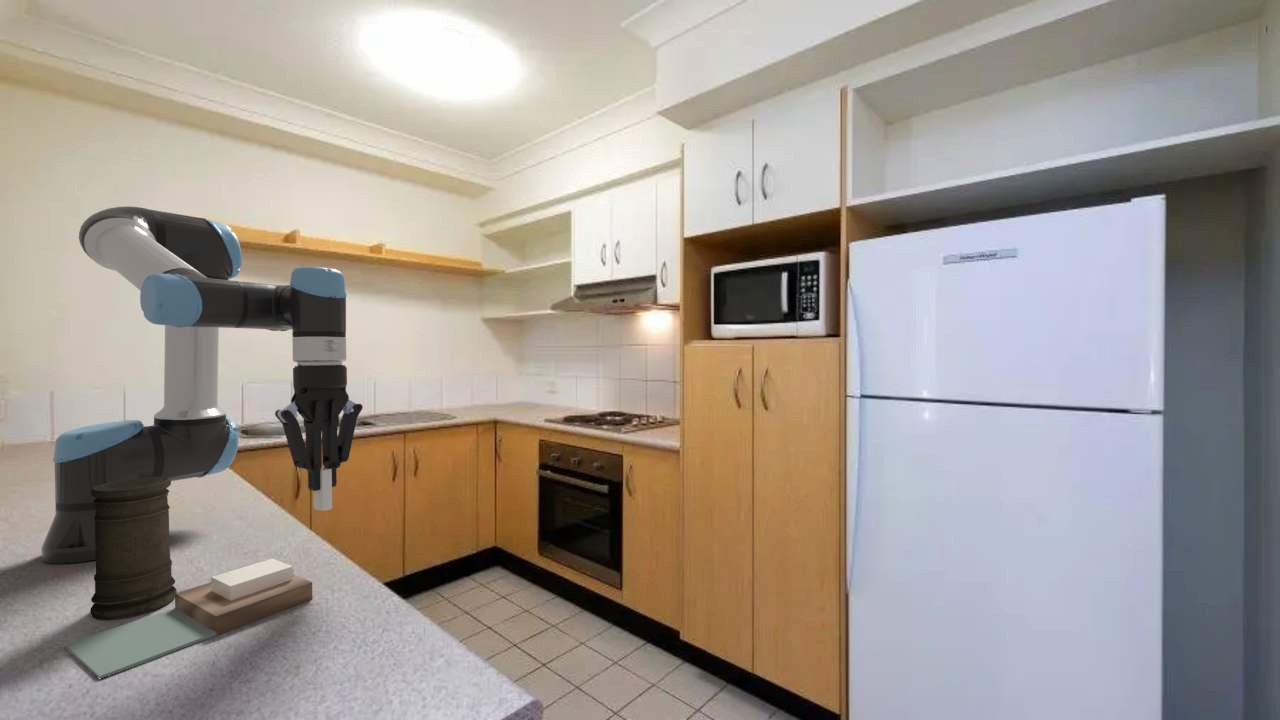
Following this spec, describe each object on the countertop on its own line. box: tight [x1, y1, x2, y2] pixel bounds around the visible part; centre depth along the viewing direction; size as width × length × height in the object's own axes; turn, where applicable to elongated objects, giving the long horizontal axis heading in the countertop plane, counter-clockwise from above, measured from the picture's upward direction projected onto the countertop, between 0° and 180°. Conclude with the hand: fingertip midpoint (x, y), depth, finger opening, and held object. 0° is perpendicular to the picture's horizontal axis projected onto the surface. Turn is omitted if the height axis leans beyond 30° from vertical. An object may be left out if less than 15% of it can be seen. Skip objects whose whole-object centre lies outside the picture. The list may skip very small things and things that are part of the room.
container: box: [89, 477, 178, 621], centre depth 78 cm, size 9×9×18 cm
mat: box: [63, 607, 217, 679], centre depth 68 cm, size 13×11×1 cm
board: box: [174, 574, 313, 636], centre depth 78 cm, size 13×12×2 cm
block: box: [210, 558, 294, 601], centre depth 79 cm, size 6×8×2 cm
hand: (323, 508), depth 87 cm, fingers closed
